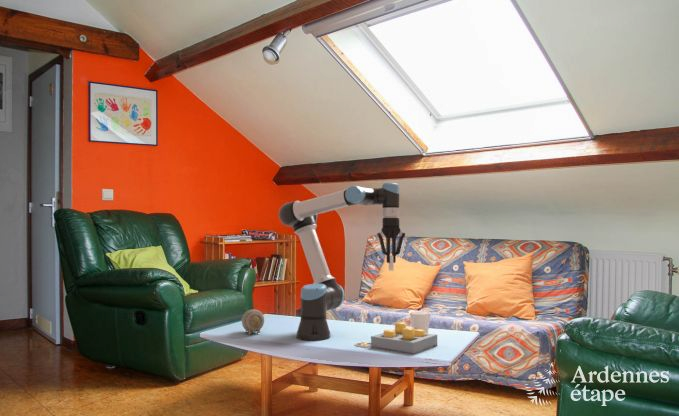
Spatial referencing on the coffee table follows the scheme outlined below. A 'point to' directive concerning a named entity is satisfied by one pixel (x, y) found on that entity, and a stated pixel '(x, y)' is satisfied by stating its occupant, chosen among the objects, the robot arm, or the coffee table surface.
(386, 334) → the button
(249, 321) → the toy sheep
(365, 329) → the coffee table surface
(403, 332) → the button
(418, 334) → the button
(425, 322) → the cup
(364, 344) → the pattern tile
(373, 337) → the board
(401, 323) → the button
